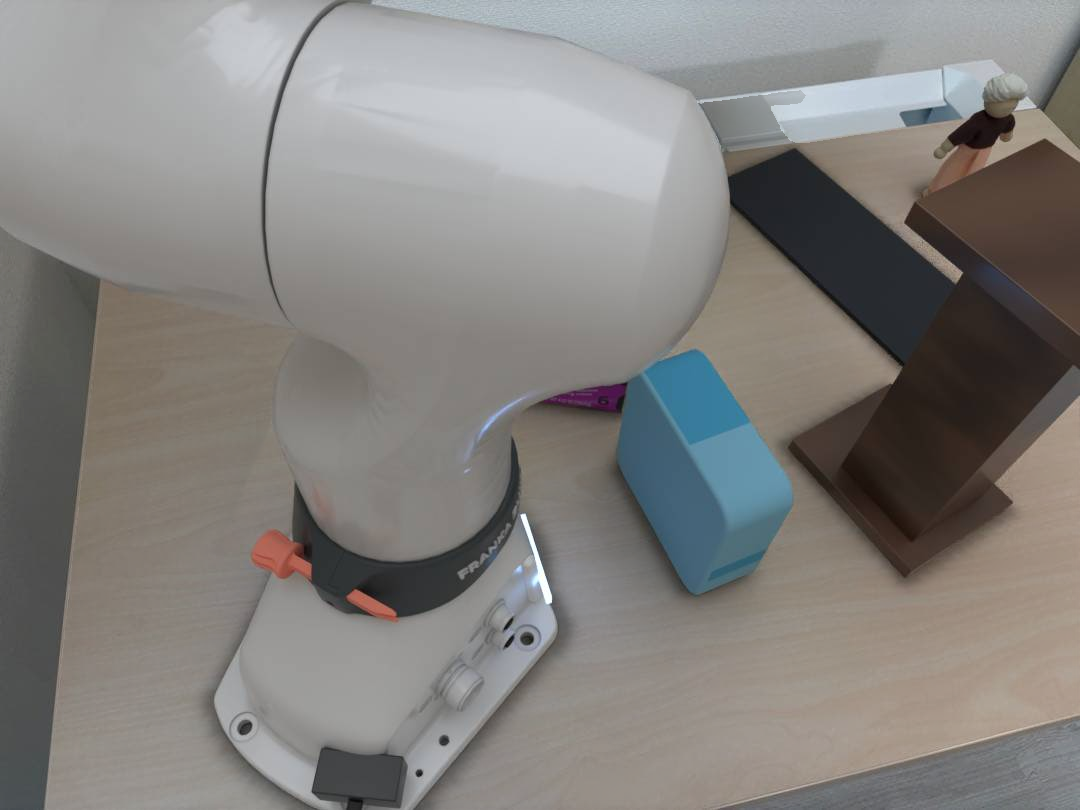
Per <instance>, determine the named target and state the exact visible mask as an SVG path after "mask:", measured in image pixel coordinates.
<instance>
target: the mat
mask: <svg viewBox="0 0 1080 810" xmlns="http://www.w3.org/2000/svg"><path fill="white" fill-rule="evenodd" d="M727 178H728V185H729V192H730V205H731V206H732V207H734V209H736V210H737V211H738V212H739V213H740V214H741V215H742V216H743V217H744V218H745V219H746V220H747V221H748V222H749V223H751V224H752V226H754V227H755V228H756V229H757V230H758V231H759V232H760V233H761V234H762V235H763V236H764V237H765V238H766V239H767V240H768V241H769V242H771V243H772V244H773V245H774V246H775V247H776V248H777V249H778V250H779V251H780V252H781V253H782V254H783V255H784V256H786V258H788V259H789V260H790V261H791V262H792V263H793V264H794V265H795V266H796V267H797V268H798V269H799V270H800V271H801V272H802V273H803V274H804V275H805V276H806V277H808V278H809V279H810V280H811V281H812V282H813V284H815V285H816V287H818V288H819V289H820V290H821V291H822V292H824V294H826V296H828V297H829V298H830V299H831V300H832V301H833V302H834V303H835V304H836V305H837V306H838V307H839V308H840V309H841V310H842V311H843V312H844V313H846V315H848V316H849V317H850V319H852V321H854V323H856V324H857V325H858V326H859V327H860V328H861V329H863V330H864V332H866V333H867V335H869V336H870V337H871V338H872V339H873V340H874V341H875V342H876V343H877V344H878V345H879V346H881V348H882V349H884V351H886V352H887V353H888V354H889V355H890V356H891V358H893V359H894V360H895V361H896V362H897V363H898V364H899V365H900V366H901V367H902V368H903V367H904V365H905V364H906V362H907V360H908V359H909V357H910V356H911V354H912V353H913V351H914V349H915V348H916V346H917V345H918V343H919V341H920V340H921V338H922V337H923V335H924V334H925V332H926V330H927V329H928V327H929V326H930V324H931V323H932V321H933V319H934V318H935V316H936V315H937V313H938V312H939V310H940V308H941V307H942V305H943V304H944V302H945V300H946V299H947V297H948V296H949V294H950V293H951V291H952V289H953V288H954V286H955V285H956V283H955V282H953V281H952V280H951V279H950V278H949V277H948V276H947V275H945V274H944V273H943V272H942V271H941V270H939V268H937V266H935V265H933V264H932V263H931V262H930V261H929V260H928V259H927V258H926V257H925V256H923V255H922V254H921V253H920V252H918V251H917V250H916V249H915V248H914V247H912V246H911V245H910V244H909V243H908V242H907V241H905V240H904V239H903V238H902V237H901V236H900V235H898V233H896V232H895V231H894V230H892V229H891V228H890V227H889V226H888V225H887V224H886V223H884V222H883V221H882V220H880V218H878V217H877V216H876V215H875V214H874V213H872V212H871V211H870V210H869V209H868V208H866V207H865V206H864V205H863V203H862V204H861V202H859V200H857V199H856V198H855V197H854V196H852V195H851V194H850V193H849V192H848V191H847V190H845V189H844V188H843V187H842V186H840V185H839V184H838V182H836V181H835V180H833V179H832V178H831V177H830V176H829V175H828V174H826V173H825V172H824V171H823V170H821V169H820V168H819V167H818V166H817V165H816V164H815V163H813V162H812V161H811V160H810V159H809V158H808V157H807V156H805V155H804V154H803V153H802V152H800V151H799V150H798V149H797V148H796V147H794V148H791V149H790V150H787V151H785V152H782V153H780V154H778V155H775V156H773V157H770V158H768V159H766V160H764V161H761V162H758V163H757V164H754V165H752V166H750V167H748V168H745V169H743V170H741V171H738V172H735V173H733V174H731V175H728V176H727Z"/></svg>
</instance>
